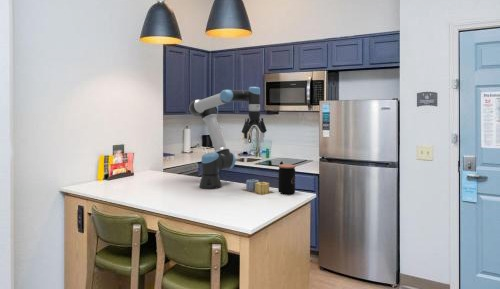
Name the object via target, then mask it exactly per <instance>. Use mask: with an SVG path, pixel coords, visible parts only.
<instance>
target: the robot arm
mask: <svg viewBox="0 0 500 289" xmlns="http://www.w3.org/2000/svg"><path fill="white" fill-rule="evenodd" d="M232 102H233V103H234V102H235V103H244V102H245V103H246V102H247V103H248V117H247V118H245V120H244V124H243V127H242V130H241V133H242V134H243V135H244V137H243V139H244V144H245V145H249V132H250V130H251V128H252V127H253V126H257V127H258V130H259V131H260V132H259V142H260V143H265V142H264V139H265V134H266V132H267V131H268V129H267V127H266V125H265V122H264V118H263V117H261V111H260V110H261V88H260V87H258V86H249V87H248V90H241V89H240V90H239V89H235V90H234V89H223V90H222V91H220V93H217V94H214V95H212V96H208V97H205V98H203V99H195V100H192V101H191V103H190V104H189V107H188V111H189V112H190V114H191V115H192V116H195V117H201V119H202V121H204V123H205V125H206V127H207V131H208V133H209V138H210V140H211V142H212V145H213V150H214V152H208V153H204V154H203V155H202V156H201V178H200V181H199V188H200V189H204V190H214V189H216V190H217V189H220V188H221V187H222V181H221V178H220V176H219V174H220V173H219V172H220V171H224V170H229V169H230V170H231V169H233V168H234V167H235V165H236V161H237V160H236V159H237V158H236V156H235V153H233V152H230V148H228V147H227V146H226V143H225V139H224V136H223V134H222V131H221V128H220V124H219V123H218V119H217V118H218V114H219V106H221V105H224V104H228V103H232Z"/></svg>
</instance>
